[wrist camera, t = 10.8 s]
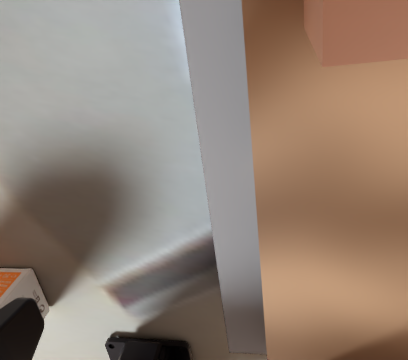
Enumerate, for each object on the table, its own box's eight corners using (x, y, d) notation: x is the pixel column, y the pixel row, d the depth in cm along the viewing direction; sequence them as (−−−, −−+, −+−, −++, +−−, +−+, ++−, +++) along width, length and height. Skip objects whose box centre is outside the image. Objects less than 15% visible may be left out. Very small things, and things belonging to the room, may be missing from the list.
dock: (437, 305, 22) (466, 366, 19) (235, 298, 25) (229, 352, 21) (561, -235, 12) (683, -319, 8) (182, -153, 14) (152, -192, 11)
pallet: (412, 355, 19) (442, 440, 16) (272, 347, 21) (271, 424, 17) (528, -213, 9) (680, -318, 6) (242, -153, 11) (226, -209, 7)
